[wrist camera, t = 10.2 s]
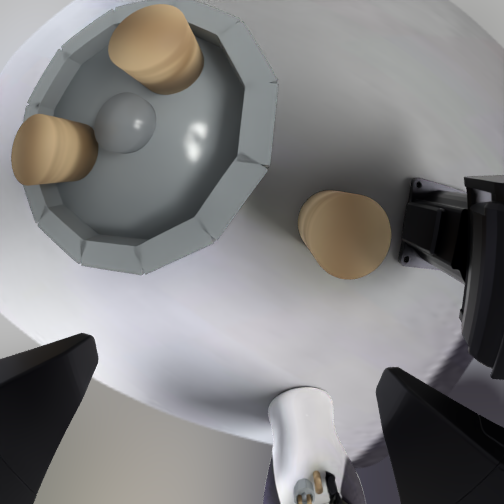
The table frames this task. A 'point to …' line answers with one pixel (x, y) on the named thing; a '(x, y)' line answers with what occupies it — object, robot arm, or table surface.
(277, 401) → the beer glass
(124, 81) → the tray
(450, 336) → the table surface
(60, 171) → the tan short rounded cylinder
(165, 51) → the bead
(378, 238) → the bead
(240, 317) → the table surface
